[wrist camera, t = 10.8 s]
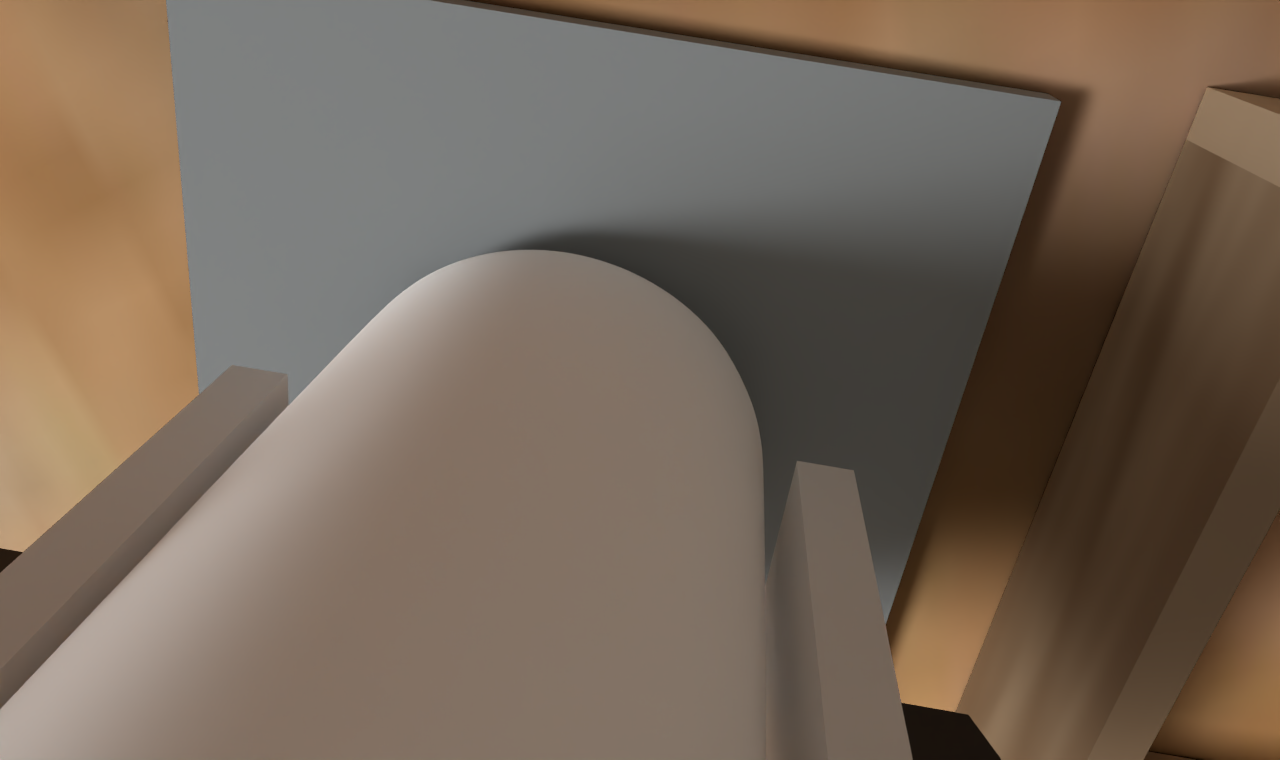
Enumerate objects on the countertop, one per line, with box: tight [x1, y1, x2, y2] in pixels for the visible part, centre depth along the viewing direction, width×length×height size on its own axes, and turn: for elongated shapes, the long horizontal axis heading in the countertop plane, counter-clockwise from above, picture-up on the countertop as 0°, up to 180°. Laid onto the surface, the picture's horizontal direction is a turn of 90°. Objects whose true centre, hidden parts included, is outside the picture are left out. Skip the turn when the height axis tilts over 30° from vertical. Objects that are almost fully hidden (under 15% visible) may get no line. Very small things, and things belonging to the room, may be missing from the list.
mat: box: [166, 0, 1061, 625], centre depth 15 cm, size 12×12×1 cm
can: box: [0, 250, 766, 760], centre depth 9 cm, size 6×6×12 cm
